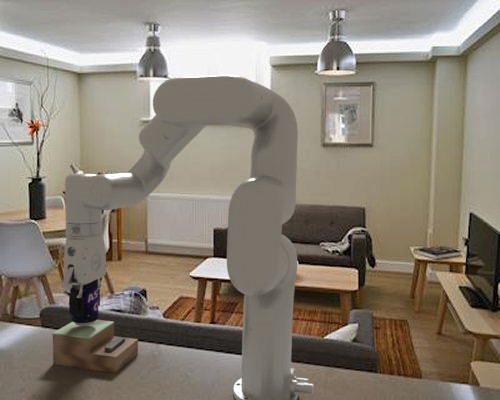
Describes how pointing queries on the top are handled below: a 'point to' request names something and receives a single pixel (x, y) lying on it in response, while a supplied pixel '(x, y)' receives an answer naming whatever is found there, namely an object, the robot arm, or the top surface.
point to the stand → (92, 347)
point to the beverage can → (88, 304)
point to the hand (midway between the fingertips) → (85, 309)
